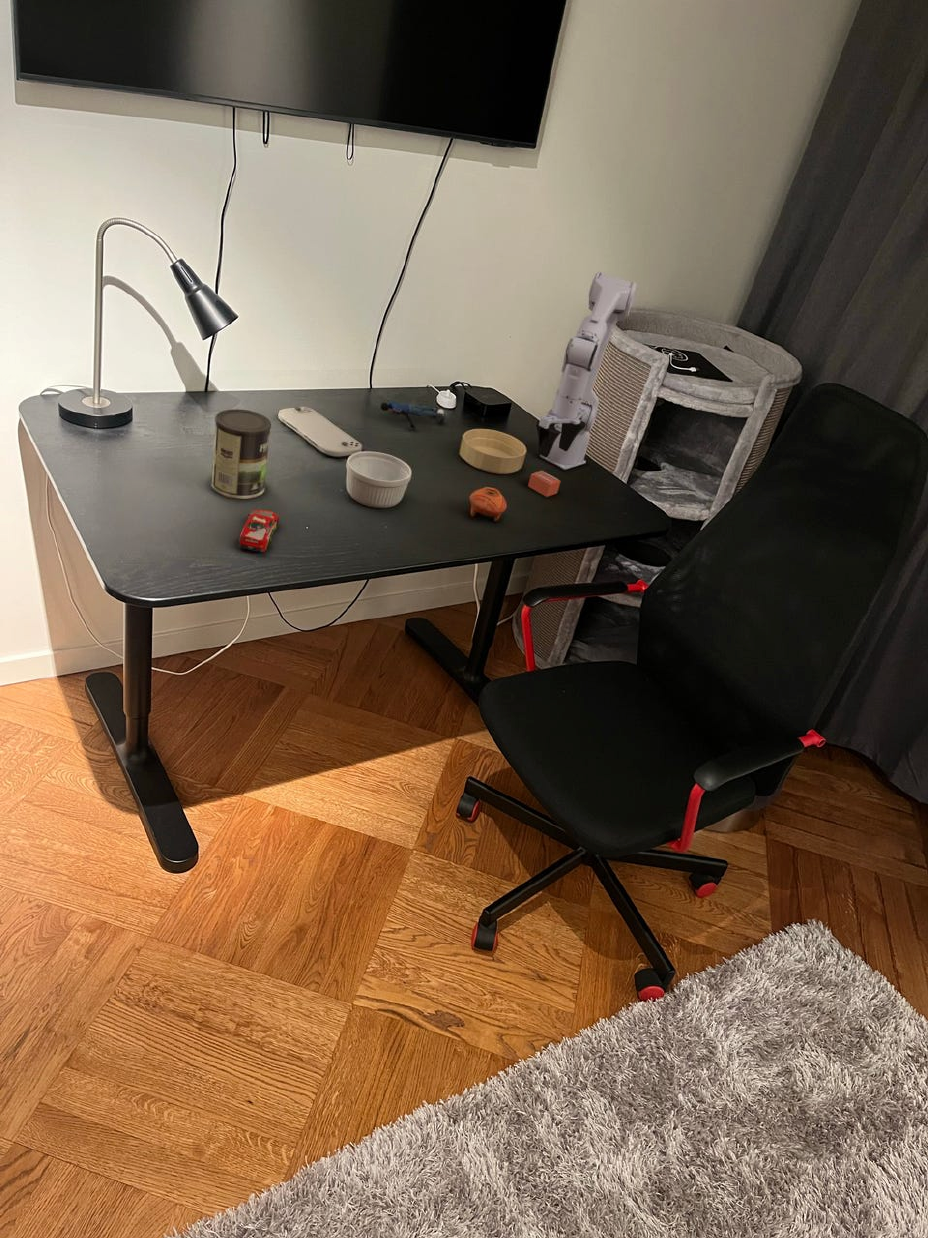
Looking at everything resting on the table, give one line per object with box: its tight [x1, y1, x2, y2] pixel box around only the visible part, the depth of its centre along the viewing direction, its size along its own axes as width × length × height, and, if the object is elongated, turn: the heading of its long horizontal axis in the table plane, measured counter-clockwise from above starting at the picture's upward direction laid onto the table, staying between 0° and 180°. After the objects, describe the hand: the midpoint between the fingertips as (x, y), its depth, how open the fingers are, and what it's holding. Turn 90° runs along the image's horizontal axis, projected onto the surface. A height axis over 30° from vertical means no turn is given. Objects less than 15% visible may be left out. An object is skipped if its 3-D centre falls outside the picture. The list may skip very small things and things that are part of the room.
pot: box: [469, 486, 508, 522], centre depth 190 cm, size 8×8×7 cm
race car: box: [238, 509, 280, 553], centre depth 165 cm, size 13×5×4 cm, turn 177°
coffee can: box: [210, 408, 272, 500], centre depth 175 cm, size 10×10×14 cm
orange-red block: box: [527, 470, 561, 498], centre depth 207 cm, size 4×6×4 cm
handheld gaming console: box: [277, 406, 364, 459], centre depth 205 cm, size 23×3×10 cm
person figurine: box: [380, 400, 446, 431], centre depth 224 cm, size 11×4×18 cm
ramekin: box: [345, 450, 412, 509], centre depth 186 cm, size 13×13×7 cm
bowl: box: [459, 428, 527, 475], centre depth 214 cm, size 15×15×4 cm
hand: (553, 452), depth 203 cm, fingers open, 7 cm apart
